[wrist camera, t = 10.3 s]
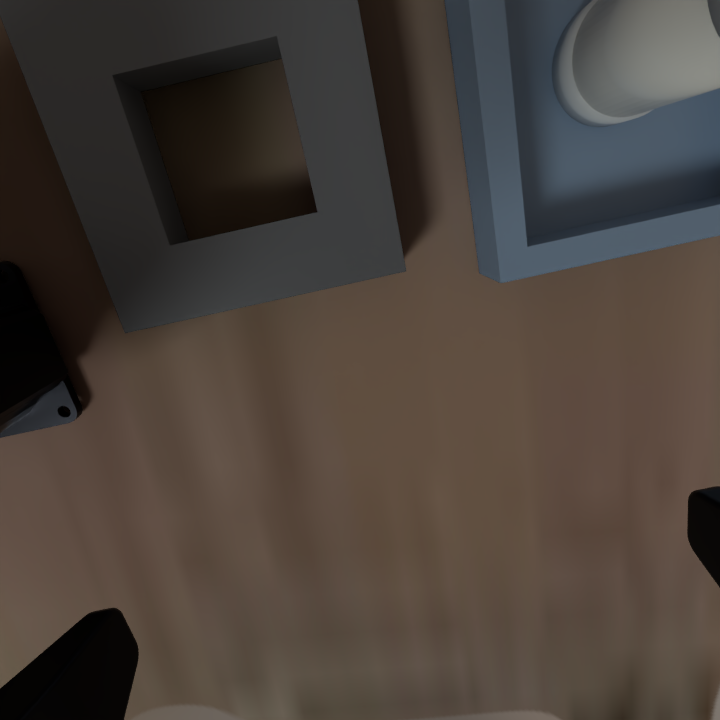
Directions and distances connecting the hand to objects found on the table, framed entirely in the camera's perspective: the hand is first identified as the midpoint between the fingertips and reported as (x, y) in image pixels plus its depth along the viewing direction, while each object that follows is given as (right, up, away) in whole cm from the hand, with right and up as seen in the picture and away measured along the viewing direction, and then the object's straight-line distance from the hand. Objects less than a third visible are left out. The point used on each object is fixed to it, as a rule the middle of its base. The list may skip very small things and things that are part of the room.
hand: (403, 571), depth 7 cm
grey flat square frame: (-5, +11, +9) cm, 15 cm away
